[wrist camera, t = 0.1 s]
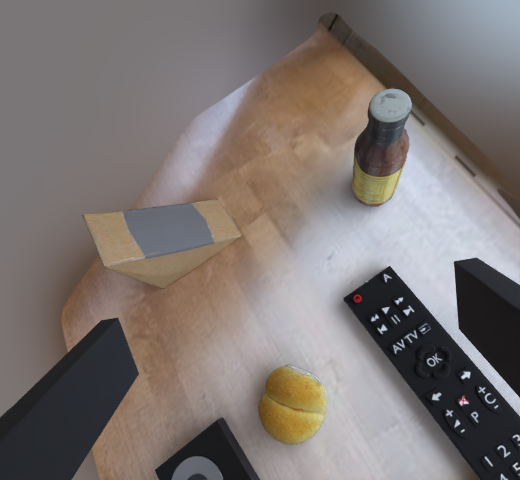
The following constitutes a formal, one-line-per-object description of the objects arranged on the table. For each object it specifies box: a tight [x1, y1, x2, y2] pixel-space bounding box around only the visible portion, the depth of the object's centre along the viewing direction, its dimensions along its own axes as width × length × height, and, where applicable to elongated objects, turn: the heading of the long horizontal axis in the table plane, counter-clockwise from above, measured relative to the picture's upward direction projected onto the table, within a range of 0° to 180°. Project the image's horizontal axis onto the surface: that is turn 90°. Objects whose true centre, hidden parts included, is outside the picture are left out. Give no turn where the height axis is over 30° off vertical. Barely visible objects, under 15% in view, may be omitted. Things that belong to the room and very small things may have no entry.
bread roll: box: [258, 365, 327, 444], centre depth 43 cm, size 8×9×4 cm
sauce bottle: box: [352, 89, 412, 206], centre depth 43 cm, size 7×6×20 cm
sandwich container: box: [82, 199, 242, 289], centre depth 48 cm, size 9×15×15 cm, turn 122°
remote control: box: [344, 266, 520, 480], centre depth 41 cm, size 8×32×2 cm, turn 33°
